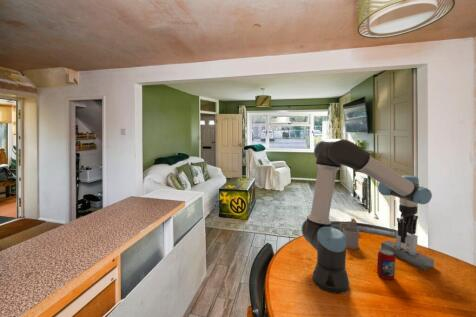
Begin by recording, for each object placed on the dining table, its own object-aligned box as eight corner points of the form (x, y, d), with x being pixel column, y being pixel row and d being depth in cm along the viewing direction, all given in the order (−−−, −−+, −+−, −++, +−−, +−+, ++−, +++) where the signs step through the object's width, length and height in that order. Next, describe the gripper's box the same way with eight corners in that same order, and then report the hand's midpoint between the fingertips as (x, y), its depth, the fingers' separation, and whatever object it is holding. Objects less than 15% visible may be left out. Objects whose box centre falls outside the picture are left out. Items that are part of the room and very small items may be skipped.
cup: (360, 249, 126) (360, 232, 125) (344, 248, 128) (345, 231, 127) (355, 242, 134) (356, 227, 133) (341, 241, 136) (341, 226, 135)
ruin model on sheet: (353, 231, 151) (353, 217, 150) (356, 233, 148) (356, 219, 147) (338, 232, 149) (339, 219, 148) (341, 234, 146) (341, 220, 145)
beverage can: (386, 282, 97) (387, 256, 96) (373, 273, 104) (374, 249, 103) (398, 279, 99) (399, 254, 98) (384, 270, 106) (385, 247, 105)
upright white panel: (416, 255, 113) (417, 236, 112) (412, 256, 112) (413, 237, 111) (399, 247, 121) (400, 229, 120) (395, 248, 120) (396, 230, 119)
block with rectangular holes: (424, 270, 105) (425, 262, 105) (381, 249, 126) (381, 242, 126) (433, 267, 108) (434, 259, 108) (389, 246, 128) (389, 240, 128)
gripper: (405, 208, 108) (403, 254, 110) (426, 204, 114) (423, 247, 116) (390, 204, 115) (388, 247, 117) (410, 201, 121) (408, 241, 123)
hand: (406, 247), depth 116 cm, fingers closed on upright white panel, 3 cm apart
